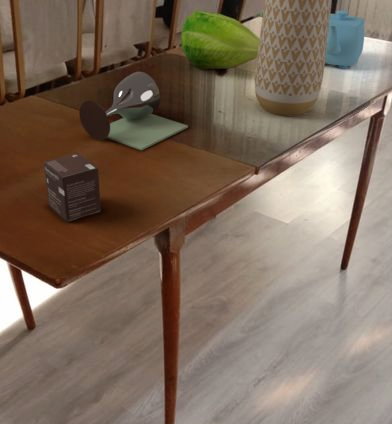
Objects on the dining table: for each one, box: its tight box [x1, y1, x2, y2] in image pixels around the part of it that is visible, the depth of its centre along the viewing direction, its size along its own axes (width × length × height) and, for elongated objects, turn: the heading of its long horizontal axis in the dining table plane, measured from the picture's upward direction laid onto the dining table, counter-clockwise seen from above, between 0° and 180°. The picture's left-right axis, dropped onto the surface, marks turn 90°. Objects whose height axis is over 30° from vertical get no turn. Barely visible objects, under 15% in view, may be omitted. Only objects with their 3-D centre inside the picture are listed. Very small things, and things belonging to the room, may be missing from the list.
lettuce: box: [180, 9, 260, 70], centre depth 145 cm, size 14×20×12 cm
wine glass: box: [78, 71, 161, 141], centre depth 118 cm, size 8×8×15 cm
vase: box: [254, 0, 333, 117], centre depth 122 cm, size 14×14×31 cm
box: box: [42, 152, 102, 223], centre depth 94 cm, size 6×6×7 cm
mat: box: [106, 113, 189, 151], centre depth 120 cm, size 14×12×1 cm
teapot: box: [325, 9, 365, 69], centre depth 151 cm, size 12×18×12 cm
